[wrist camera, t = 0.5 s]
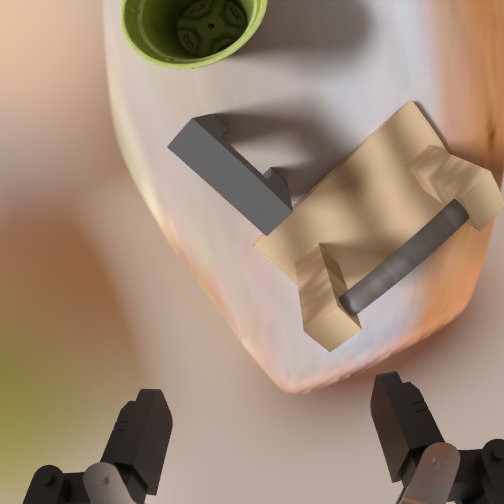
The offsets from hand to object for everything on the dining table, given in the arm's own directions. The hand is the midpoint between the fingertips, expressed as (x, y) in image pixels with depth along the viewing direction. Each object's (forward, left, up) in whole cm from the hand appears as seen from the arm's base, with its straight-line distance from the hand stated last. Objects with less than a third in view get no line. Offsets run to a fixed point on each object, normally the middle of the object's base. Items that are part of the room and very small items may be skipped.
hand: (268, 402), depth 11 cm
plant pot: (-9, -15, -21) cm, 28 cm away
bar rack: (-7, +7, -21) cm, 23 cm away
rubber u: (-2, -5, -21) cm, 22 cm away
